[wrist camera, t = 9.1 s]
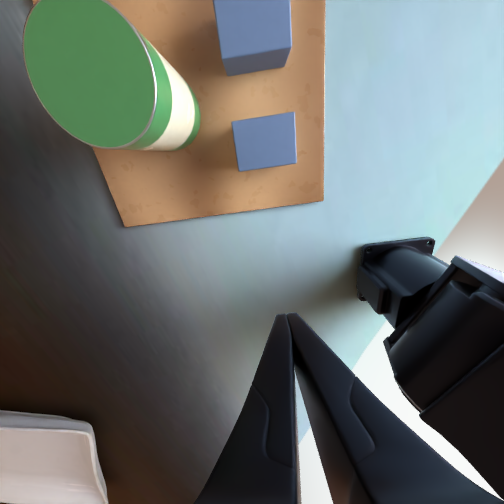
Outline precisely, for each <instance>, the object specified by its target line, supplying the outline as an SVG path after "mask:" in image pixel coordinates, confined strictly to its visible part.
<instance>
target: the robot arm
mask: <svg viewBox="0 0 504 504" xmlns="http://www.w3.org/2000/svg"><path fill="white" fill-rule="evenodd" d="M428 241H429V243H428V244H427V242H428ZM434 245H435V240H434V239H432V238H430V237H423V238H415V239H406V240H398V241H390V242H381V243H373V244H366V245H364V246H363V247H362V252H361V262H360V266H359V267H358V276H357V289H358V294H357V296H358V298H359V299H360V300H361V301H367V302H368V303H369V304H370V305H371V307H372V308H373V309H374V311H375V312H376V313H377V314H383V315H384V317H385V318H386V319H387V320H388V322H389V323H390V324H391V325H392V326H393V328H394V329H395V330H394V332H393V333H392V334H391V335H390V336H389V337H387V338H386V339H385V340H384V341H383V343H384V346H385V349H386V352H387V354H388V357H389V361H390V364H391V366H392V370H393V373H394V378H395V381H396V382H397V384H398V386H399V388H400V390H401V391H402V393H403V395H404V396H405V397H406V398H407V400H408V401H409V402H410V403H411V404H412V405H413V406H414V407H415V408H416V409H417V410H418V411H419V412H420V414H419V416H420V418H421V419H422V420H423V421H424V422H425V423H426V424H428V425H429V426H430V427H432V428H433V429H434V430H436V431H437V432H438V433H440V434H441V435H442V436H443V437H444V438H445V439H446V440H447V441H448V442H449V443H451V444H452V445H453V446H454V447H455V448H456V449H457V450H458V451H459V452H460V453H461V454H462V455H463V456H464V457H465V458H466V459H467V460H468V462H469V463H471V465H472V466H473V467H474V468H475V469H476V470H477V471H478V473H479V474H480V475H481V476H482V477H483V478H484V479H485V480H486V481H487V483H488V484H489V485H490V486H491V487H492V488H493V489H494V491H495V492H496V493H497V494H498V495H499V496H500V497H501V498H502V499H503V500H504V272H501V271H498V270H495V269H493V268H490V267H487V266H484V265H481V264H478V263H476V262H473V261H470V260H467V259H464V258H462V257H459V256H455V257H454V258H453V259H452V260H451V264H450V265H448V264H447V263H445V262H443V261H441V260H439V259H438V258H436V257H434V256H433V255H432V252H433V249H434ZM368 248H370V249H369V250H368V251H366V250H367V249H368ZM362 296H363V297H362ZM294 368H295V372H294ZM295 373H296V376H297V380H298V383H299V387H300V390H301V394H302V397H303V400H304V404H305V407H306V411H307V414H308V418H309V421H310V425H311V428H312V431H313V435H314V438H315V442H316V445H317V449H318V452H319V456H320V459H321V463H322V466H323V469H324V473H325V476H326V480H327V483H328V487H329V490H330V493H331V497H332V500H333V504H504V501H503V500H501V499H499V498H497V497H496V496H494V495H492V494H490V493H489V492H487V491H486V490H484V489H483V488H481V487H479V486H478V485H476V484H475V483H474V482H472V481H471V480H469V479H468V478H467V477H465V476H464V475H463V474H461V473H460V472H459V471H458V470H456V469H455V468H454V467H453V466H451V464H449V463H448V462H447V461H446V460H445V459H444V458H443V457H441V456H440V455H439V454H438V453H437V452H436V451H435V450H434V449H433V448H431V447H430V446H429V445H428V444H427V443H426V442H425V441H423V440H422V439H421V438H420V437H419V436H418V435H417V434H416V433H415V432H414V431H412V430H411V429H410V428H409V427H408V426H407V425H406V424H405V423H404V422H402V421H401V420H400V419H399V418H398V417H397V416H396V415H395V414H394V413H393V412H392V411H390V410H389V409H388V408H387V407H386V406H385V405H384V404H383V403H382V402H381V401H380V400H379V399H378V398H377V397H376V396H375V395H374V394H373V393H372V392H371V391H370V390H369V389H368V388H367V387H366V386H365V385H364V384H363V383H362V382H361V381H360V380H359V379H358V377H355V374H354V373H353V372H352V371H351V370H350V369H349V368H348V367H347V366H346V365H345V364H344V363H343V362H342V360H341V359H340V358H339V357H338V356H337V355H336V354H335V353H334V352H333V351H332V350H331V349H330V348H329V347H328V346H327V344H326V343H325V342H324V341H323V340H322V339H321V338H320V337H319V336H318V335H317V334H316V333H315V332H314V331H313V330H312V328H311V327H310V326H309V325H308V324H307V323H306V322H305V321H304V320H303V319H302V318H301V317H300V316H299V315H298V314H297V313H296V312H295V313H288V314H287V315H286V314H277V315H276V317H275V320H274V323H273V326H272V329H271V331H270V334H269V337H268V340H267V343H266V345H265V348H264V351H263V354H262V357H261V359H260V362H259V365H258V368H257V371H256V373H255V376H254V379H253V382H252V386H251V387H250V390H249V393H248V396H247V398H246V401H245V403H244V406H243V408H242V411H241V413H240V415H239V417H238V420H237V422H236V424H235V426H234V428H233V430H232V432H231V434H230V436H229V439H228V441H227V443H226V445H225V447H224V449H223V451H222V453H221V455H220V457H219V459H218V461H217V463H216V465H215V467H214V469H213V471H212V473H211V475H210V477H209V479H208V481H207V483H206V484H205V486H204V488H203V490H202V491H201V493H200V495H199V496H198V498H197V499H196V501H195V502H194V504H301V487H300V469H299V450H298V429H297V409H296V390H295Z"/></svg>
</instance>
